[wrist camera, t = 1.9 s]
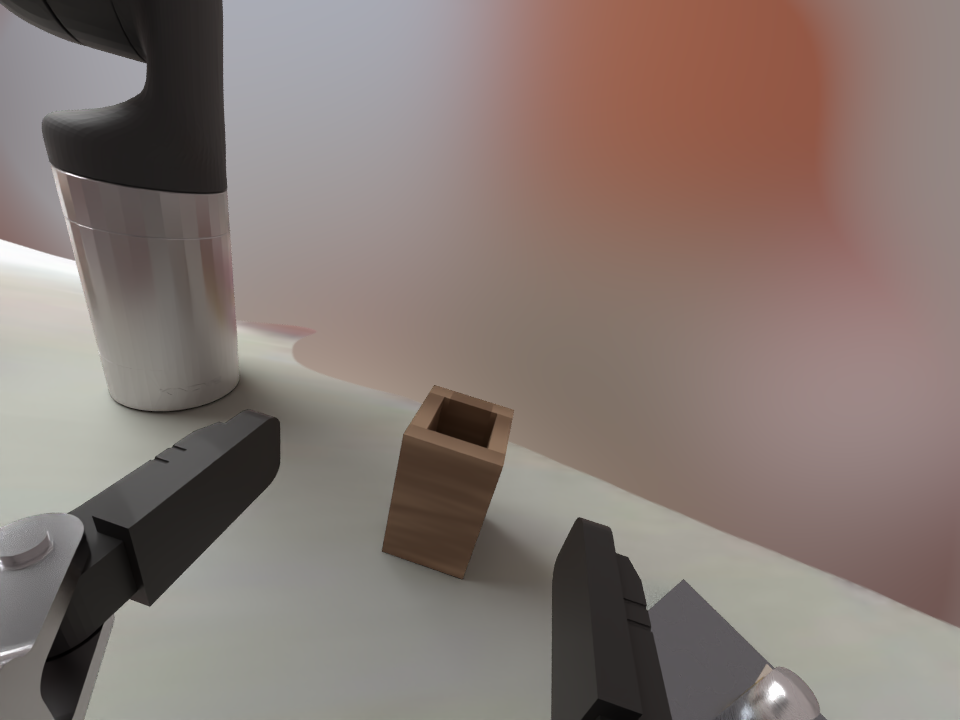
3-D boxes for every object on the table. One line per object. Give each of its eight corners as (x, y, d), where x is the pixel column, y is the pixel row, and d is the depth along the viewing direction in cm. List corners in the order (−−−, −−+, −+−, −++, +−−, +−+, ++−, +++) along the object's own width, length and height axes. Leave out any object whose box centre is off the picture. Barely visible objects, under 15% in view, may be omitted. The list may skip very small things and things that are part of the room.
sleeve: (462, 579, 24) (503, 466, 20) (381, 551, 24) (403, 434, 20) (478, 512, 29) (514, 410, 25) (411, 489, 29) (434, 385, 25)
